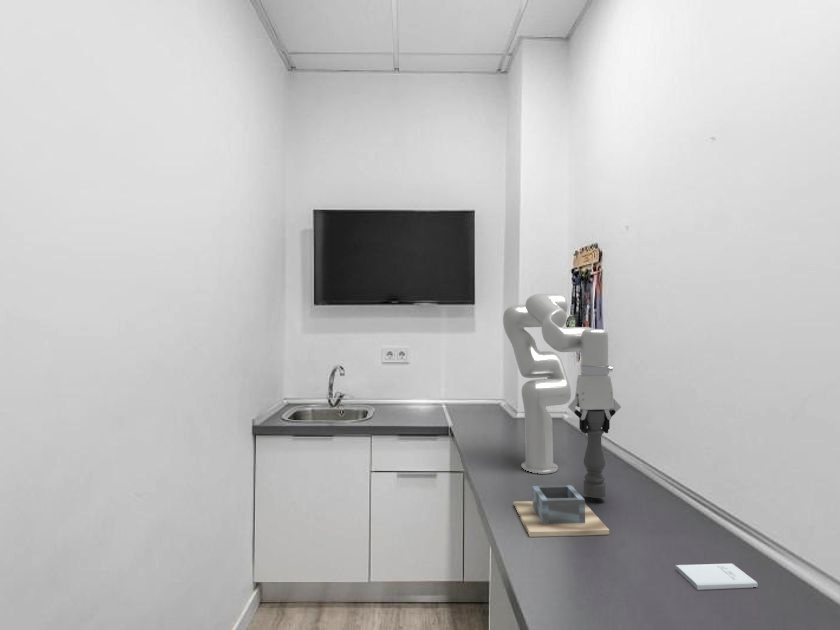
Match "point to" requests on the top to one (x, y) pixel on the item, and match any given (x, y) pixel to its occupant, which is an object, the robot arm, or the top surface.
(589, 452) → the candle holder
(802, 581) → the top surface
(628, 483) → the top surface
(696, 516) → the top surface
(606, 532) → the socket board
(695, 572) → the external hard drive
